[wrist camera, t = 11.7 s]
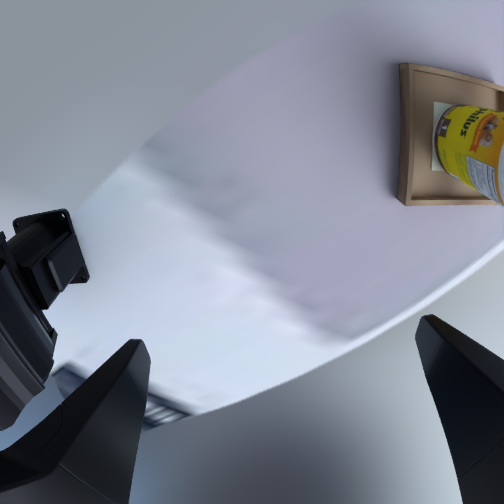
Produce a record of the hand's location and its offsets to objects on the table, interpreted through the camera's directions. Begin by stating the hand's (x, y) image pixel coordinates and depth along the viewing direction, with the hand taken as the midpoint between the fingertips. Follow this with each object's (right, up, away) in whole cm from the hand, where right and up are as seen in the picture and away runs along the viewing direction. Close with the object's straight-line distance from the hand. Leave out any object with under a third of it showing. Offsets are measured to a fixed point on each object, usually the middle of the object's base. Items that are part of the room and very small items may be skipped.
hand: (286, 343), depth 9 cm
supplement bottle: (+14, +11, +8) cm, 19 cm away
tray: (+14, +11, +9) cm, 20 cm away
